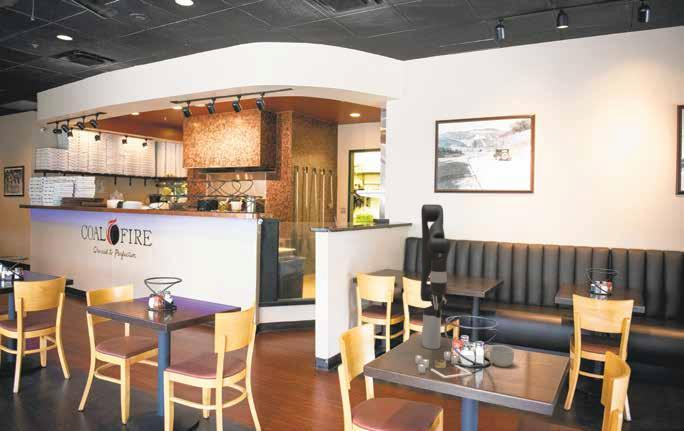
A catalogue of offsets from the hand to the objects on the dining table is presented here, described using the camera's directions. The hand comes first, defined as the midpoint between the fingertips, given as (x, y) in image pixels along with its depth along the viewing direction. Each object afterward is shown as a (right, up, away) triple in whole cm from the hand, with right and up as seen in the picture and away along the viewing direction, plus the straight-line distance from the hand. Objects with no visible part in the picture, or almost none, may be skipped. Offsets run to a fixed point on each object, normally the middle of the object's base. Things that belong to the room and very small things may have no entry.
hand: (438, 317), depth 227 cm
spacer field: (+1, -22, -2) cm, 23 cm away
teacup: (+29, -23, +1) cm, 37 cm away
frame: (+4, -23, -9) cm, 25 cm away
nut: (+1, -23, -2) cm, 23 cm away
